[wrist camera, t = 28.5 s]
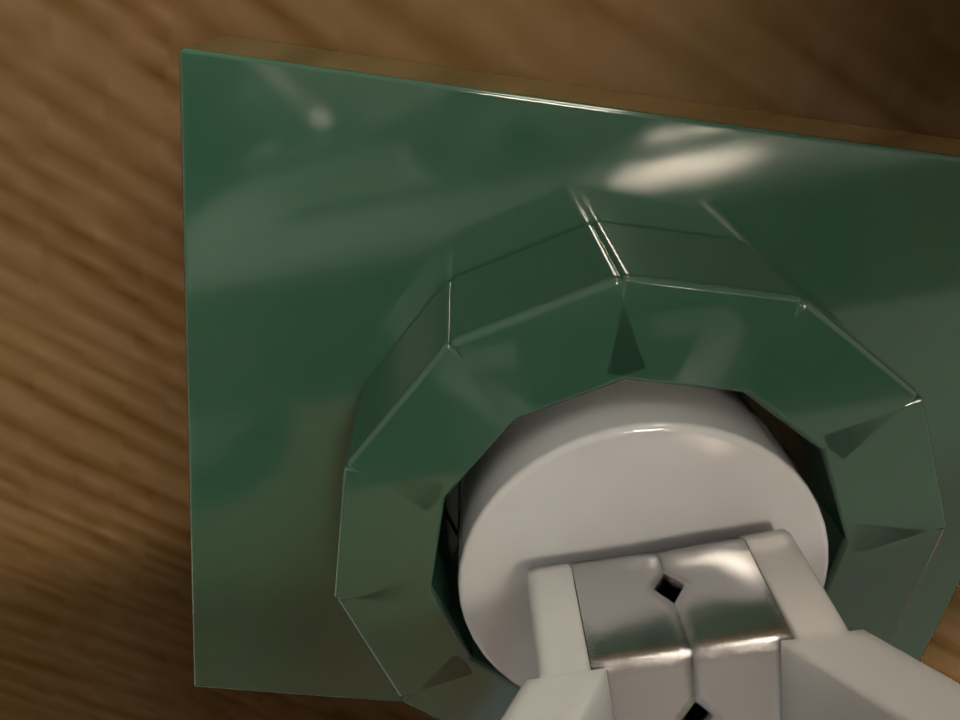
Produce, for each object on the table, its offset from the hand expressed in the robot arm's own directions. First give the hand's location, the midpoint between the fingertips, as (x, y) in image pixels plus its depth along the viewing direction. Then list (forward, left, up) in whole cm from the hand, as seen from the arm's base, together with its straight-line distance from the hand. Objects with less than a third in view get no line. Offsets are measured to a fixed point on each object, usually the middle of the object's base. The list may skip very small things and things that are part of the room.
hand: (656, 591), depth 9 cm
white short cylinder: (0, 0, -2) cm, 2 cm away
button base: (0, 0, -4) cm, 4 cm away
